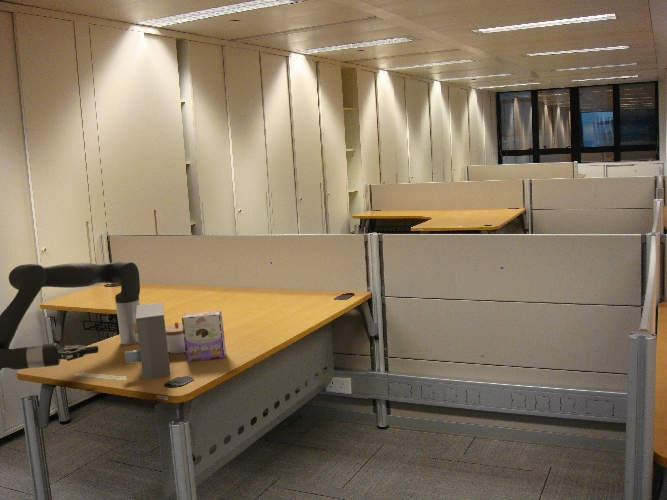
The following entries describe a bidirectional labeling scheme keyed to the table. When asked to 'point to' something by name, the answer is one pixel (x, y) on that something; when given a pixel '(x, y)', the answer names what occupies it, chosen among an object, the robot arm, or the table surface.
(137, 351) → the slate blue button
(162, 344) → the console panel
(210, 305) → the table surface
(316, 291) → the table surface
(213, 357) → the candy box
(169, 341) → the lidded container
